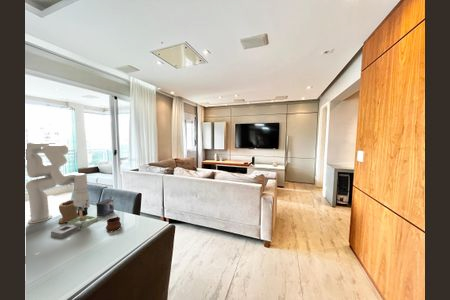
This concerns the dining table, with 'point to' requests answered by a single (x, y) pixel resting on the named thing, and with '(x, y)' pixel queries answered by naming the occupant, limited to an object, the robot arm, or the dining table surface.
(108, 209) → the small box
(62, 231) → the holder block
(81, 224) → the parts tray
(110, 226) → the ceramic pot
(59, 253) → the dining table surface
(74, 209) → the stone cup
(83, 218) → the fuse
